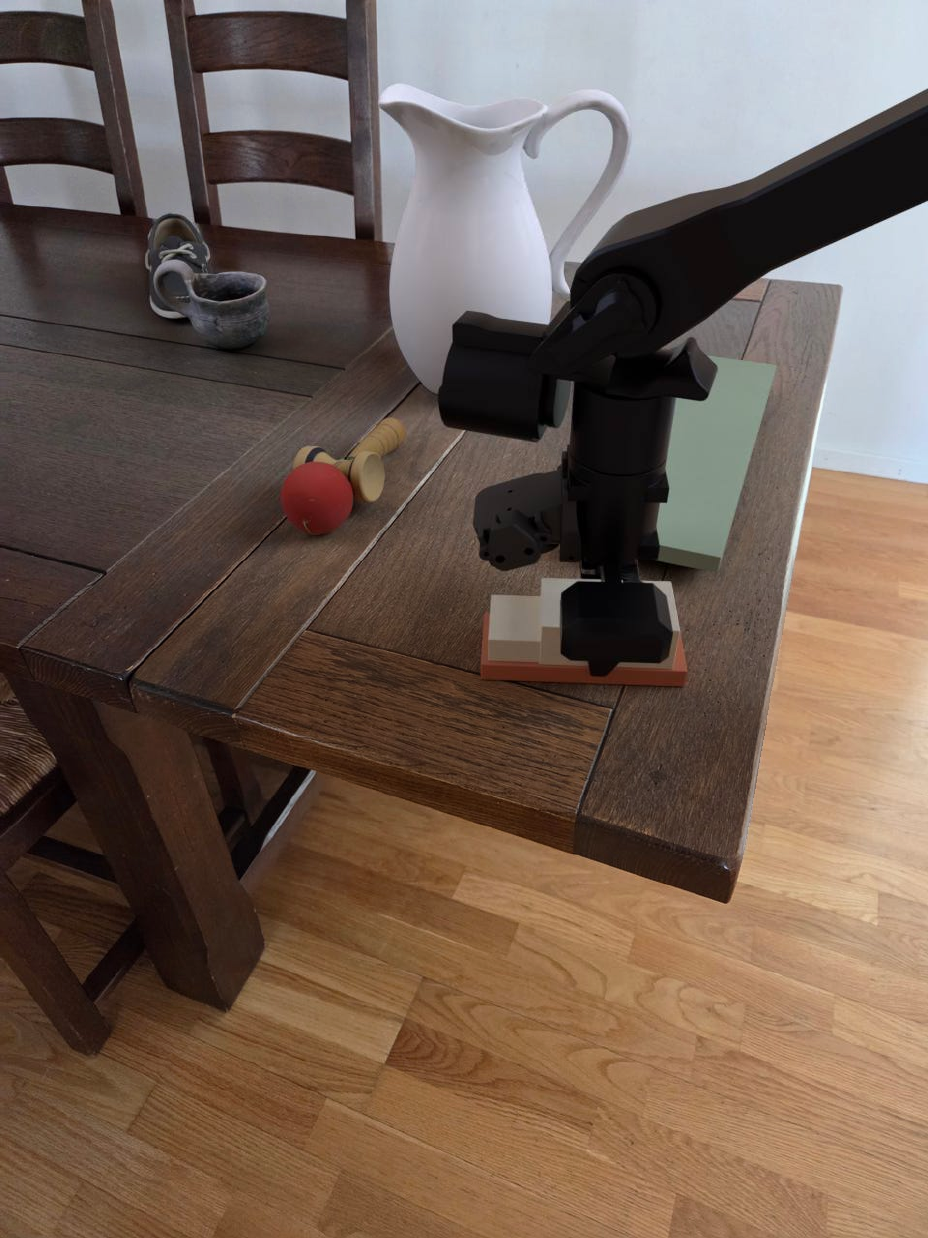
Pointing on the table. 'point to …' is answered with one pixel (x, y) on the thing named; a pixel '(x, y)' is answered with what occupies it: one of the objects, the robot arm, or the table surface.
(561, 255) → the pitcher
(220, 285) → the mug
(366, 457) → the kendama
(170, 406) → the table surface
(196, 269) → the boat shoe
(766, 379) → the flat pale green board
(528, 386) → the robot arm
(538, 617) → the stepped block on base
